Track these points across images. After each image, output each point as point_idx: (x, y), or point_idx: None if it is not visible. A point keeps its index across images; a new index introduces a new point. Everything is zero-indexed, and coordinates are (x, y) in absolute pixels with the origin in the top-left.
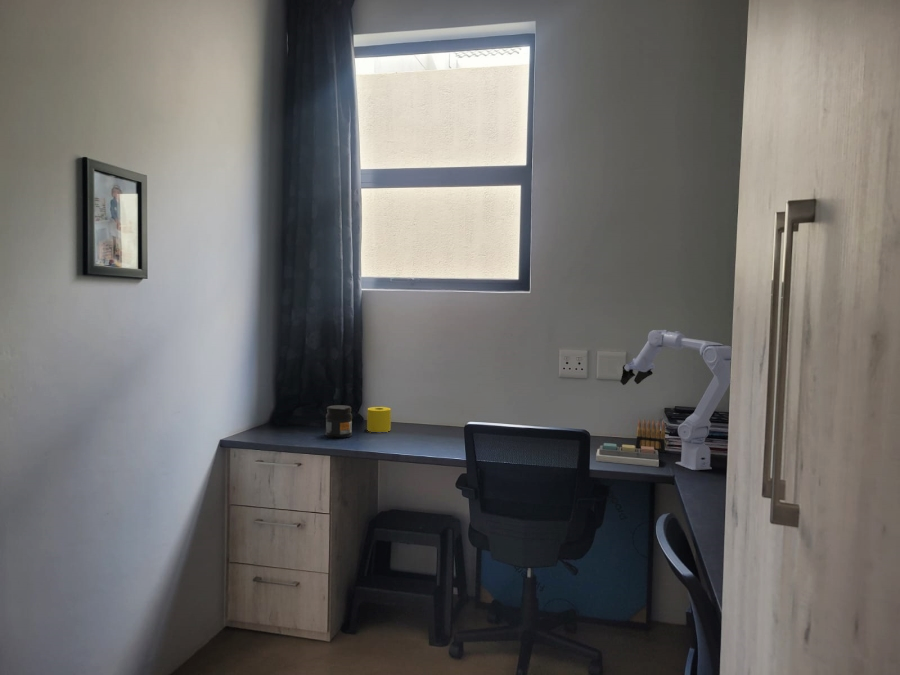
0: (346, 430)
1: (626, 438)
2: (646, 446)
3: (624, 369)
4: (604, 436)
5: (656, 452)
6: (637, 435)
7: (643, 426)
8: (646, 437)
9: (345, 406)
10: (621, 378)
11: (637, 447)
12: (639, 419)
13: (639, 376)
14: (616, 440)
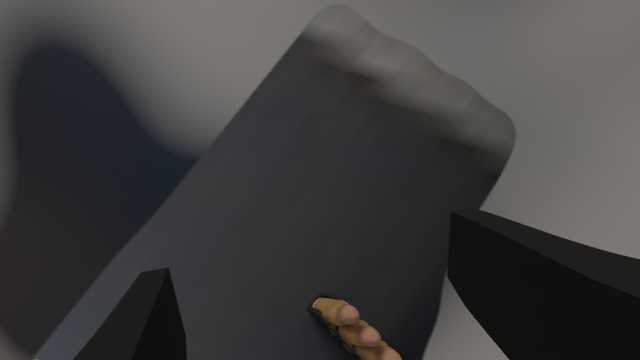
0: None
1: (399, 110)
2: (345, 345)
3: None
4: (325, 49)
5: None
6: (322, 313)
7: (357, 340)
8: (353, 352)
9: None
10: (117, 311)
11: (312, 314)
12: (351, 319)
13: (533, 314)
14: (329, 130)
